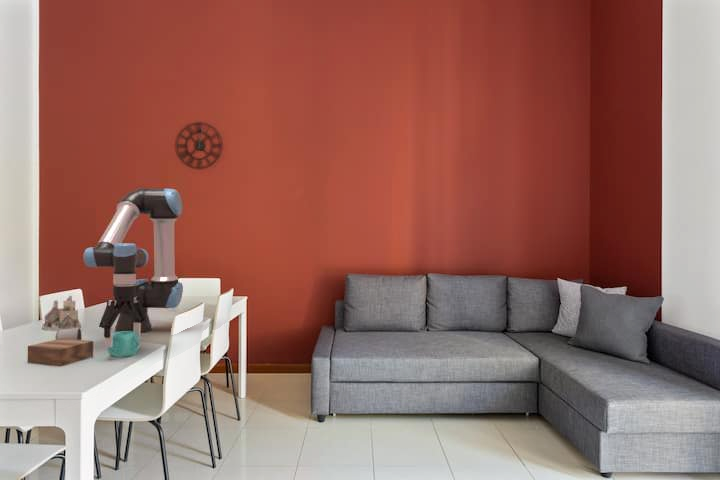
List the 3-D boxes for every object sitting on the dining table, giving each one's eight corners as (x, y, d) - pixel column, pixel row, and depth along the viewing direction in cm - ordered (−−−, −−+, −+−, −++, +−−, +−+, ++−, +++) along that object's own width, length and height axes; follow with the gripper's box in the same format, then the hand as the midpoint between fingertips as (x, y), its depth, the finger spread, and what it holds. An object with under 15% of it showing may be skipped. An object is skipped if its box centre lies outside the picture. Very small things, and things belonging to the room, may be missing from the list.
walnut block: (61, 354, 188) (61, 338, 187) (93, 357, 184) (93, 341, 184) (27, 363, 174) (27, 346, 174) (60, 367, 170) (60, 349, 170)
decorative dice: (139, 352, 191) (139, 331, 191) (127, 357, 183) (128, 335, 183) (119, 351, 192) (119, 330, 192) (106, 356, 184) (107, 334, 184)
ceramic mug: (59, 345, 200) (59, 327, 200) (81, 344, 202) (82, 326, 202) (52, 352, 190) (52, 332, 190) (76, 351, 193) (76, 331, 192)
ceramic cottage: (45, 325, 239) (46, 294, 238) (84, 325, 244) (85, 294, 243) (35, 334, 224) (36, 300, 224) (76, 334, 229) (78, 301, 229)
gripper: (140, 282, 200) (139, 336, 200) (88, 287, 177) (87, 348, 177) (156, 283, 198) (155, 338, 198) (105, 288, 174) (104, 350, 174)
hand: (123, 343), depth 187 cm, fingers open, 13 cm apart
